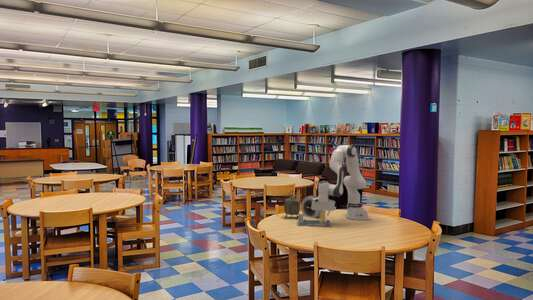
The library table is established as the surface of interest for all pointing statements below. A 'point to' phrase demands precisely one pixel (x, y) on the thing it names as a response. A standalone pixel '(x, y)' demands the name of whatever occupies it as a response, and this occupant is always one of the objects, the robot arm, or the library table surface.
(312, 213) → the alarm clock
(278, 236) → the library table surface
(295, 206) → the tabletop clock
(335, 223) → the library table surface
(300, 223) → the gauge bed
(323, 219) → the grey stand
